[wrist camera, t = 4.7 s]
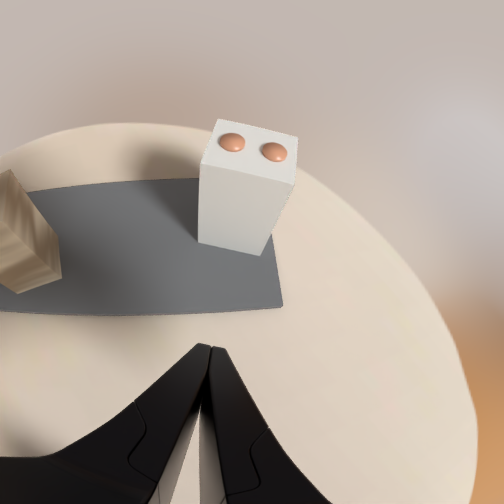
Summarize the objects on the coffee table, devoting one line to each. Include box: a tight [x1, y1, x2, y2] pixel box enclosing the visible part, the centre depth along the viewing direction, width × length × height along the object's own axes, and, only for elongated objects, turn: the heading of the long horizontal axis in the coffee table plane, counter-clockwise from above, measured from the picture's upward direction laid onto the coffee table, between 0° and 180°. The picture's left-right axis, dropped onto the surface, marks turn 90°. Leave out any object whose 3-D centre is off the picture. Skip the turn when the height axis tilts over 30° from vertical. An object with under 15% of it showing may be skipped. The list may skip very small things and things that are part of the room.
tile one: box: [0, 169, 62, 294], centre depth 14 cm, size 4×5×9 cm
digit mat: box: [0, 178, 283, 316], centre depth 21 cm, size 26×12×1 cm, turn 97°
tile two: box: [198, 119, 298, 256], centre depth 19 cm, size 4×5×9 cm
